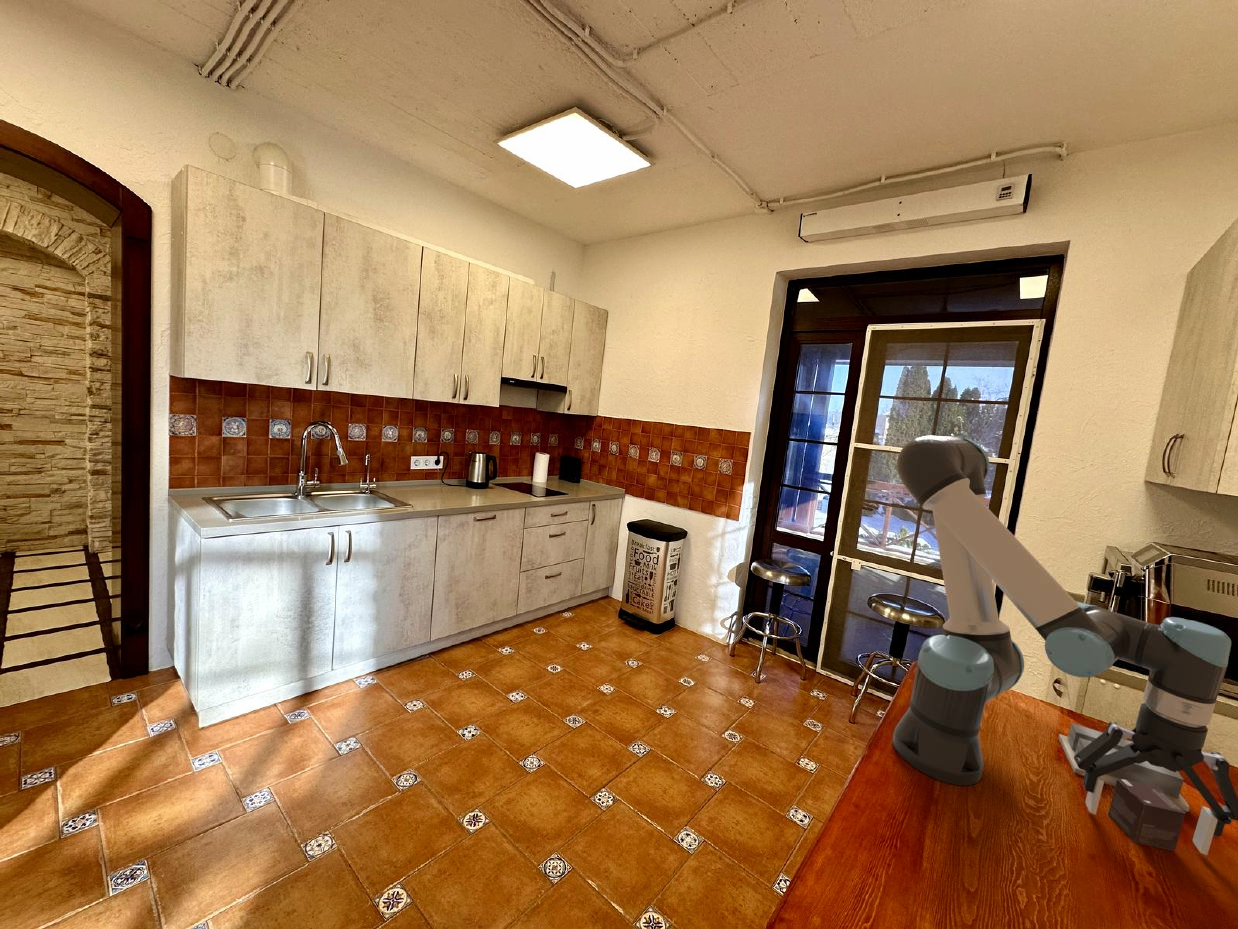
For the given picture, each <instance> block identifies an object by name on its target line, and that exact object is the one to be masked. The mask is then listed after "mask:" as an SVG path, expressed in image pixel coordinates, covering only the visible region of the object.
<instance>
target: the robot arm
mask: <svg viewBox="0 0 1238 929" xmlns="http://www.w3.org/2000/svg"><path fill="white" fill-rule="evenodd" d="M990 467H991V465H990V459H989V456H988V454H987V452H986V450H985V449H984V448H983V447H982V446H981V445H980V444H979V443H977V442H976V441H974V440H972V439H968V438H965V437H961V436H959V435H958V436H957V435H951V436H950V435H949V436H946V435H944V436H943V435H942V436H941V435H923V436H919V437H916V438H914V439H912V440H910V441H909V442H907V443H906V444H905V446H904V447H902V449H901V450H900V452H899V453H898V457H897V460H896V468H897V473H898V476H899V478H900V481H901V483H902V484H903V485H904V487H905V488H906V490H907V491H908V492H909V494H911V496H912V497H913V499H914V500H915V501H916V502H917V503H918V504H919V506H920V507H921V508H922V509H923V510H927V511H932V514H933V523H934V528H935V535H936V539H937V540H936V541H937V545H938V546H937V547H938V552H939V554H938V555H939V558H940V566H941V572H942V577H943V584H944V590H945V596H946V602H947V608H948V616H949V617H948V619H947V620H946V621H945V622H944V623H943V624H942V630H943V634H937V635H933V636H930V637H928V638H926V640H925V641H924V642H923V644H922V645H921V648H920V651H919V654H918V657H917V667H916V670H915V676H914V681H913V685H912V692H911V697H910V703H909V706H908V708H907V710H906V712H905V713H904V715H903V716H902V717H901V718H900V720H899V721H898V723H897V725H896V726H895V728H894V729H893V730H894V731H893V735H892V736H893V737H892V744H893V746H894V749H895V750H896V752H897V753H898V754H899V755H900V757H901V758H902V759H904V761H906V762H907V763H908V764H910V765H911V766H912V767H913V768H915V769H916V770H918V771H920V772H921V773H923V774H925V775H927V776H929V777H931V778H933V779H935V780H938V781H941V782H943V783H944V782H945V783H947V784H951V785H956V786H971V785H974V784H977V783H979V782H980V780H981V779H982V775H983V771H984V760H983V755H982V754H983V753H982V749H981V748H982V747H981V742H980V736H979V733H980V728H981V725H982V720H983V715H984V713H985V708H986V705H987V704H988V703H989V702H991V701H992V700H993V699H995V698H997V697H998V696H1000V695H1001V694H1003V693H1004V692H1007V691H1009V690H1011V689H1012V688H1013V687H1014V686H1015V685H1017V683H1018V682H1019V681H1020V679H1021V677H1022V676H1023V673H1024V670H1025V659H1024V656H1023V652H1022V650H1021V649H1020V647H1019V645H1018V644H1017V643H1016V642H1015V641H1013V640H1012V635H1011V629H1010V626H1008V625H1007V624H1005V622H1003V621H1002V620H1001V619H1000V618H999V612H998V608H997V602H996V601H997V600H996V596H995V590H994V584H993V582H994V583H995V584H996V585H997V587H998V588H999V589H1000V590H1001V591H1002V592H1003V593H1004V595H1005V596H1006V597H1007V598H1008V599H1009V600H1010V602H1011V603H1012V604H1013V605H1014V606H1015V607H1016V609H1017V610H1018V611H1019V612H1020V613H1021V614H1022V615H1023V616H1024V618H1025V619H1026V620H1027V621H1028V622H1029V623H1030V625H1031V626H1032V627H1033V628H1034V629H1035V630H1036V632H1037V633H1038V634H1039V636H1041V637H1042V639H1043V640H1044V641H1045V642H1044V651H1045V654H1046V657H1047V659H1048V660H1049V661H1050V663H1051V664H1053V666H1054V667H1055V668H1057V669H1058V670H1059V671H1061V672H1063V673H1065V674H1067V675H1069V676H1072V677H1076V678H1077V677H1078V678H1092V677H1096V676H1098V675H1100V674H1102V673H1106V672H1107V671H1108V670H1109V669H1110V668H1112V667H1113V664H1114V663H1116V662H1117V661H1118V660H1121V661H1124V662H1127V663H1129V664H1133V665H1135V666H1137V667H1141V668H1145V669H1148V670H1149V674H1148V677H1147V681H1146V685H1145V688H1144V692H1143V696H1142V698H1141V699H1142V701H1143V703H1141V705H1140V708H1139V711H1138V714H1137V718H1136V722H1135V727H1134V728H1133V729H1131V730H1130V729H1127V728H1124V727H1122V726H1119V725H1118V723H1117V722H1116V721H1110V722H1108V724H1107V726H1106V729H1105V731H1103V732H1102V733H1103V734H1101V735H1100V736H1099V737H1098V738H1096V739H1095V740H1094V741H1092V742H1091V743H1090V744H1089V745H1087V746H1086V747H1085V748H1084V749H1082V750H1081V751H1080V752H1079V753H1077V754H1076V755H1075V756H1074V759H1075V761H1076V763H1077V765H1078V767H1079V768H1080V769H1082V770H1085V771H1086V772H1085V776H1083V780H1082V784H1083V787H1084V789H1085V791H1086V792H1087V794H1086V797H1085V798H1086V799H1085V805H1086V808H1087V809H1088V812H1089V813H1091V814H1092V815H1097V811H1098V808H1099V803H1100V801H1101V800H1100V799H1101V796H1102V791H1103V787H1104V784H1105V783H1104V780H1103V778H1102V776H1103V775H1105V774H1108V773H1110V772H1113V771H1116V770H1118V769H1121V768H1124V767H1126V766H1129V765H1131V764H1134V763H1137V764H1140V763H1143V762H1145V761H1147V762H1149V763H1150V764H1151V765H1154V766H1158V767H1164V768H1166V769H1168V770H1170V771H1173V772H1176V771H1178V772H1184V774H1185V775H1186V776H1187V777H1188V780H1189V781H1191V783H1192V785H1193V786H1194V787H1195V788H1196V790H1197V791H1198V792H1199V794H1200V795H1201V797H1202V798H1203V799H1204V800H1205V802H1206V803H1207V805H1208V806H1209V807H1206V806H1203V805H1202V806H1201V810H1200V813H1199V817H1198V820H1197V823H1196V828H1195V831H1194V834H1193V837H1192V843H1193V844H1194V845H1195V847H1196V848H1197V849H1198V851H1199V853H1200V854H1203V855H1205V856H1208V854H1209V850H1210V847H1211V844H1212V840H1213V837H1214V836H1215V837H1218V838H1220V837H1221V836H1222V835H1223V832H1224V828H1225V825H1231V824H1232V821H1237V822H1238V794H1237V793H1236V790H1235V788H1234V785H1233V783H1232V780H1231V778H1230V776H1229V775H1230V763H1229V762H1228V760H1226V759H1225V757H1224V756H1223V755H1222V754H1221V753H1220V752H1218V751H1212V752H1210V753H1209V752H1204V751H1202V749H1203V748H1204V747H1205V746H1204V745H1205V742H1206V738H1207V736H1208V731H1209V730H1208V727H1207V726H1209V725H1210V724H1211V720H1212V716H1213V714H1214V710H1215V706H1216V702H1217V699H1218V696H1219V693H1220V690H1221V686H1222V684H1223V680H1224V677H1225V673H1226V672H1227V668H1228V664H1229V658H1230V657H1229V656H1230V654H1231V648H1232V640H1231V638H1230V637H1229V636H1228V635H1227V633H1226V632H1224V631H1223V630H1220V629H1219V628H1217V627H1214V626H1211V625H1209V624H1206V623H1203V622H1199V621H1197V620H1190V619H1185V618H1181V617H1175V616H1171V617H1165V618H1164V619H1163V621H1162V623H1160V624H1154V623H1150V622H1147V621H1145V620H1140V619H1139V618H1134V617H1131V616H1128V615H1124V614H1121V613H1118V612H1115V611H1112V610H1109V609H1106V608H1102V607H1100V606H1098V605H1095V604H1094V605H1093V604H1088V603H1083V602H1080V601H1077V600H1075V599H1074V598H1073V597H1072V596H1071V595H1070V593H1068V592H1067V591H1066V589H1065V588H1064V587H1063V586H1062V585H1061V584H1060V583H1059V582H1058V581H1057V580H1056V579H1055V578H1054V577H1053V575H1051V574H1050V572H1049V571H1048V570H1047V569H1046V568H1045V567H1044V566H1043V565H1042V564H1041V562H1039V561H1038V560H1037V559H1036V558H1035V556H1033V554H1032V553H1031V552H1030V551H1029V550H1028V549H1027V548H1026V547H1025V546H1024V545H1023V543H1021V541H1020V540H1019V539H1018V538H1017V537H1015V536H1016V535H1015V536H1014V534H1013V533H1012V532H1011V531H1010V530H1009V529H1008V527H1007V526H1005V525H1004V524H1003V522H1002V521H1001V520H1000V519H999V518H998V517H997V516H996V515H995V514H994V513H993V511H991V510H990V509H989V508H988V506H986V504H985V503H984V502H983V500H984V499H985V498H986V497H987V492H986V483H985V480H986V478H987V476H988V474H989V472H990ZM1128 739H1130V740H1131V742H1133V743H1131V744H1128V745H1126V746H1125V747H1124V748H1123V749H1121V750H1118V751H1116V752H1113V753H1111V754H1108V755H1106V756H1104V755H1105V754H1106V753H1107V752H1109V751H1110V750H1111V749H1113V748H1114V747H1115V746H1116V745H1117V744H1118V743H1119V742H1120V741H1122V742H1124V740H1128ZM1138 751H1139V753H1137V754H1136V752H1138ZM1102 756H1103V757H1102ZM1203 761H1204V762H1205V764H1206V765H1207V766H1208V768H1210V770H1211V772H1212V774H1213V777H1214V780H1215V782H1216V785H1217V787H1218V790H1219V791H1220V794H1221V796H1222V799H1223V803H1224V804H1225V805H1220V803H1219V802H1218V801H1217V800H1216V798H1215V796H1214V795H1213V794H1212V793H1211V791H1210V790H1209V789H1208V787H1207V786H1206V785H1205V782H1203V780H1202V779H1201V778H1200V776H1199V775H1198V773H1197V772H1196V771H1195V769H1194V768H1193V767H1194V766H1197V765H1199V764H1201V763H1202V762H1203Z"/></svg>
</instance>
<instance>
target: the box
mask: <svg viewBox="0 0 1238 929" xmlns="http://www.w3.org/2000/svg"><path fill="white" fill-rule="evenodd" d="M1110 802H1111V803H1110V807H1109V810H1108V813H1107V815H1108V816H1109V817H1110V818H1111V819H1112V820H1113V821H1114V822H1115V823H1116V824H1117V825H1118V827H1120V828H1121V829H1122V830H1123V832H1124V833H1125V834H1126V835H1127V836H1128V837H1129V838H1130V839H1131V840H1132V842H1134V843H1136V844H1141V845H1145V846H1151V847H1155V848H1159V849H1164V850H1168V851H1169V850H1170V851H1174V852H1175V851H1176V848H1177V844H1178V842H1179V838H1180V834H1181V831H1182V827H1183V825H1184V824H1183V823H1184V820H1185V816H1186V815H1187V814H1186V813H1187V811H1184V810H1182V809H1181V808H1180V807H1179V806H1178V805H1177V804H1176V803H1174V802H1173V801H1172V800H1171V799H1170V798H1169V797H1168V796H1167V795H1166V794H1164V793H1163V792H1162V791H1161V790H1160V789H1159V788H1158V787H1157V786H1154V785H1149V784H1144V783H1138V782H1133V781H1128V780H1123V779H1117V781H1116V785H1115V786H1114V790H1113V794H1112V798H1111V801H1110Z"/></svg>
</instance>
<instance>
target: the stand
mask: <svg viewBox="0 0 1238 929" xmlns="http://www.w3.org/2000/svg"><path fill="white" fill-rule="evenodd" d="M1103 733H1104V732H1102V731H1099V730H1096V729H1092V728H1089V727H1087V726H1086V727H1085V726H1083V725H1079V724H1077V723H1073V722H1071V724H1070V728H1069V731H1068V735H1063V734H1061V733H1059V734H1058V740H1059V743H1060V745H1061V747H1062V749H1063V751H1064V753H1065V755H1066V757H1067V760H1068V763H1069V764H1070V766H1071V768H1072V771H1073V773H1075V774H1078V775H1080V776H1083V777H1084V776H1085V772H1086V771H1085V770H1082V769H1080V768H1079V767H1078V765H1077V763H1076V761H1075V759H1074V756H1075V755H1076V754H1077V753H1079V752H1080V751H1081V750H1082V749H1084V748H1085V747H1086V746H1087V745H1089V744H1090V743H1091V742H1092V741H1094V740H1095V739H1096V738H1098V737H1099V736H1100V735H1101V734H1103ZM1131 743H1133V741H1132V740H1131V741H1130V740H1128V739H1125V740H1124V742H1122V741H1120V742H1119V743H1118V744H1117V745H1116V746H1115V747H1114V748H1113V749H1111V750H1110V751H1109V752H1107V753H1106V754H1105V755H1104V756H1106V755H1108V754H1111V753H1113V752H1116V751H1118V750H1121V749H1123V748H1124V747H1125V746H1126V745H1128V744H1131ZM1137 753H1139V751H1138V752H1136V754H1137ZM1102 757H1103V756H1102ZM1102 778H1103V780H1104V784H1106V785H1109V786H1113V787H1115V785H1116V781H1117V779H1123V780H1128V781H1133V782H1138V783H1144V784H1149V785H1154V786H1157V787H1158V788H1159V789H1160V790H1161V791H1162V792H1163V793H1164V794H1166V795H1167V796H1168V797H1169V798H1170V799H1171V800H1172V801H1173V802H1174V803H1176V804H1177V805H1178V806H1179V807H1180V808H1181V809H1182V810H1183V811H1184V812H1186V813H1187V812H1188V813H1189V812H1190V806H1189V804H1188V802H1187V801H1186V800H1185V798H1184V796H1182V794H1181V791H1182V787H1183V784H1184V781H1185V780H1184V778H1183V777H1182V775H1181V774H1180V772H1179V771H1176V772H1173V771H1170V770H1168V769H1166V768H1164V767H1158V766H1154V765H1151V764H1150V763H1149V762H1147V761H1145V762H1143V763H1140V764H1137V763H1134V764H1131V765H1129V766H1126V767H1124V768H1121V769H1118V770H1116V771H1113V772H1110V773H1108V774H1105V775H1103V776H1102Z"/></svg>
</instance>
